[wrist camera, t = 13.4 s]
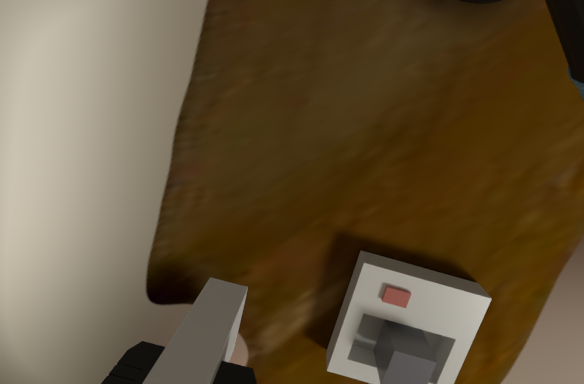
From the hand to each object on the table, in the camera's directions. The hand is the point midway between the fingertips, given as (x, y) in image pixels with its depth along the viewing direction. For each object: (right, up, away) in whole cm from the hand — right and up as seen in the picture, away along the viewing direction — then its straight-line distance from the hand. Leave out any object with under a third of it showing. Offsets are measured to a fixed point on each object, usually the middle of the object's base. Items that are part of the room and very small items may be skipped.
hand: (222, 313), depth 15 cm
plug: (+17, -15, +37) cm, 43 cm away
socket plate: (+17, -13, +37) cm, 43 cm away
